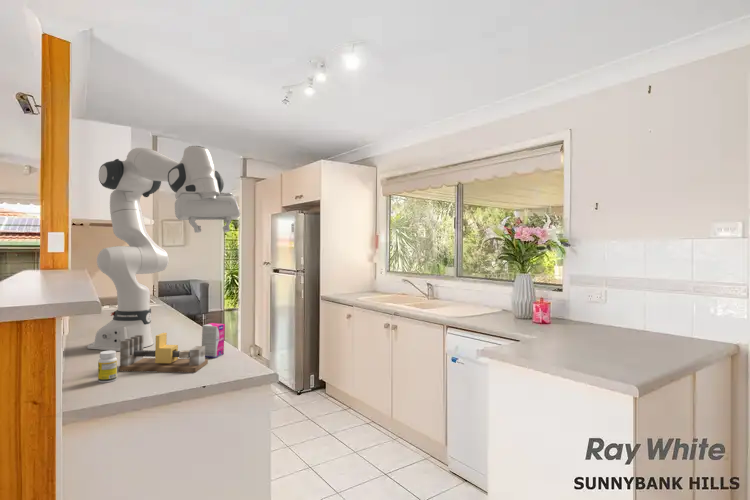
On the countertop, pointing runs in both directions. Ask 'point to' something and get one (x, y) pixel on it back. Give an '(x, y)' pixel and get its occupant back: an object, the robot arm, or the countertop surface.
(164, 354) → the yellow l-shaped block
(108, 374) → the supplement bottle
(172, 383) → the countertop surface
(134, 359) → the wooden board with slider
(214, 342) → the supplement box
